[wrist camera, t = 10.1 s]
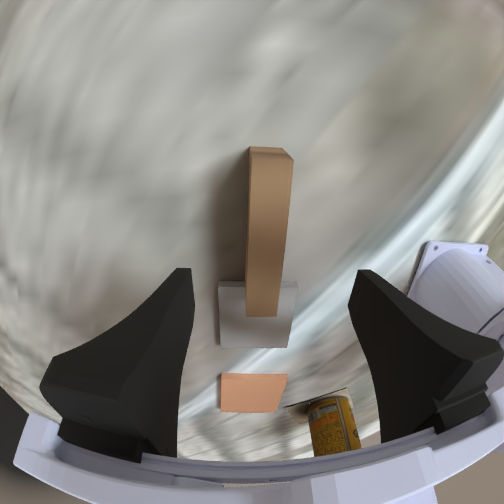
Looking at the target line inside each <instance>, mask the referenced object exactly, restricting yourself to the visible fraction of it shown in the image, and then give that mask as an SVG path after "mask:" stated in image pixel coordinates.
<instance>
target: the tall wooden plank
mask: <svg viewBox="0 0 504 504" xmlns="http://www.w3.org/2000/svg"><path fill="white" fill-rule="evenodd" d="M293 161H294V160H293V159H292V158H291V157H290V156H289V155H288V154H287V153H286V151H285V150H284V149H283V148H273V147H250V153H249V179H248V206H247V233H246V263H245V281H219V282H218V300H219V321H220V339H221V348H287V345H288V340H289V335H290V330H291V325H292V319H293V314H294V309H295V303H296V297H297V292H298V285H297V282H283V281H281V278H282V269H283V261H284V252H285V243H286V234H287V225H288V215H289V205H290V195H291V184H292V173H293Z"/></svg>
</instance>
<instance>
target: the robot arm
mask: <svg viewBox="0 0 504 504" xmlns="http://www.w3.org/2000/svg"><path fill="white" fill-rule="evenodd" d="M434 247H435V248H434ZM487 251H488V246H487V245H486V244H475V243H459V242H443V241H429V242H428V243H427V244H426V247H425V250H424V253H423V256H422V258H421V261H420V264H419V267H418V269H417V272H416V275H415V277H414V280H413V282H412V285H411V287H410V290H409V292H408V295H407V296H406V295H405V294H403V293H402V292H401V291H399V290H398V289H397V288H395V287H394V286H393V285H391V284H390V283H389V282H387V281H386V280H385V279H383V278H382V277H381V276H379V275H378V274H376V273H375V272H373V271H372V270H358V272H357V275H356V279H355V282H354V286H353V289H352V293H351V296H350V299H349V303H348V309H349V313H350V317H351V320H352V324H353V327H354V329H355V332H356V334H357V337H358V339H359V342H360V344H361V347H362V349H363V352H364V354H365V357H366V359H367V362H368V365H369V368H370V371H371V375H372V379H373V383H374V388H375V393H376V398H377V404H378V412H379V420H380V433H381V444H378V445H374V446H371V447H366V448H362V449H357V450H353V451H348V452H343V453H337V454H332V455H325V456H319V457H311V458H303V459H294V460H282V461H264V462H221V461H203V460H191V459H182V458H177V424H178V407H179V394H180V384H181V376H182V370H183V365H184V361H185V357H186V353H187V348H188V344H189V340H190V336H191V332H192V328H193V321H194V312H195V301H194V292H193V283H192V273H191V268H176V269H175V270H174V271H173V272H172V273H171V275H170V276H169V277H168V278H167V279H166V280H165V281H164V282H163V283H162V284H161V285H160V286H159V287H158V288H157V290H156V291H155V292H154V293H153V294H152V295H151V296H150V297H149V298H148V299H147V300H146V301H144V302H143V303H142V304H141V305H140V306H139V307H138V308H137V309H136V310H135V311H133V312H132V313H131V314H130V315H129V316H127V317H126V318H125V319H123V320H122V321H121V322H119V323H118V324H116V325H115V326H113V327H112V328H110V329H109V330H107V331H106V332H104V333H103V334H101V335H99V336H98V337H96V338H94V339H92V340H90V341H89V342H87V343H85V344H83V345H81V346H79V347H76V348H74V349H72V350H69V351H67V352H65V353H62V354H60V355H57V356H54V357H53V359H52V360H51V362H50V364H49V366H48V368H47V370H46V372H45V374H44V377H43V379H42V381H41V383H40V387H39V388H40V391H41V393H42V395H43V397H44V398H45V399H46V401H47V402H48V403H49V404H50V405H51V406H52V407H53V408H54V409H55V410H56V411H57V412H58V413H59V414H60V415H61V416H62V417H63V419H62V422H61V425H60V424H59V423H57V422H56V421H54V420H52V419H50V418H47V417H45V416H42V415H40V414H38V413H35V412H33V411H32V412H30V414H29V417H28V420H27V422H26V425H25V428H24V430H23V433H22V436H21V439H20V442H19V445H18V448H17V451H16V454H15V458H14V461H13V463H14V465H15V466H17V467H19V468H20V469H22V470H24V471H25V472H27V473H29V474H30V475H32V476H34V477H36V478H37V479H39V480H41V481H43V482H45V483H47V484H49V485H51V486H53V487H55V488H57V489H59V490H62V491H64V492H66V493H68V494H70V495H73V496H75V497H77V498H80V499H83V500H85V501H88V502H90V503H93V504H438V503H437V499H436V495H435V491H434V488H433V486H434V485H436V484H438V483H440V482H442V481H443V480H446V479H447V478H449V477H451V476H453V475H455V474H456V473H458V472H460V471H461V470H463V469H465V468H467V467H468V466H470V465H471V464H473V463H475V462H476V461H477V460H479V459H481V458H482V457H484V456H485V455H487V454H488V453H503V452H504V272H503V271H502V270H501V269H500V268H499V267H498V266H497V265H496V264H495V263H494V262H493V261H492V260H491V259H490V258H489V257H487V256H486V254H487ZM287 481H291V482H288V483H280V484H272V485H262V486H248V487H224V485H223V484H222V483H236V484H248V483H274V482H287Z"/></svg>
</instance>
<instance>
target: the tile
mask: <svg viewBox="0 0 504 504" xmlns="http://www.w3.org/2000/svg"><path fill="white" fill-rule="evenodd" d="M287 381H288V378H287V374H235V373H222V377H221V412H243V413H272V412H276V410H277V407H278V405H279V402H280V400H281V397H282V394H283V392H284V389H285V386H286V383H287Z"/></svg>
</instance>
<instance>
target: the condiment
mask: <svg viewBox="0 0 504 504" xmlns="http://www.w3.org/2000/svg"><path fill="white" fill-rule="evenodd" d="M309 403H310V404H309ZM351 408H354V407H353V403H352V400H351V397H350V394H349V391H348V388H346V389H343V390H340V391H337V392H333V393H331V394H327V395H324V396H322V397H319V398H316V399H313V400H311V401H307V402H304V403H300V404H296V405H294V406H291V407H287V408H285V409H286V410H288V411H289V413H290V414H291V415H292V416H293V417H294V418H295V419H296V420H297V421H298V423H299V424H302V423H306V422H309V427H310V433H311V439H312V445H313V451H314V457H319V456H325V455H332V454H337V453H343V452H348V451H353V450H357V449H362V448H361V444H360V439H359V436H358V432H357V429H356V424H355V421H354V417H353V414H352V410H351Z"/></svg>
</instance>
